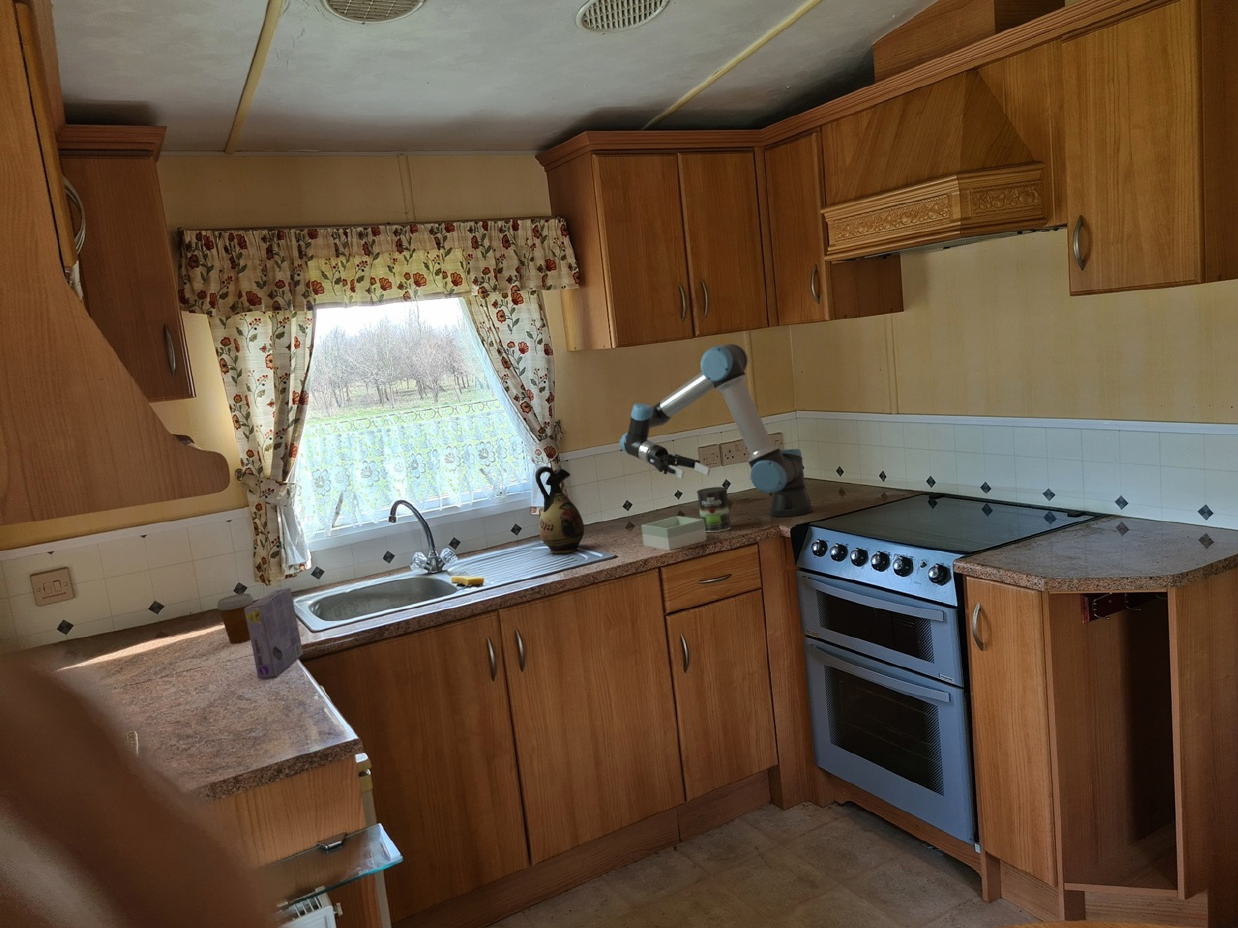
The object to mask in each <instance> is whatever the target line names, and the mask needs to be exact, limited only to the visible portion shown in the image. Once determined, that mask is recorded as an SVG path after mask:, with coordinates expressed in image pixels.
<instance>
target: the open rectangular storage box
mask: <svg viewBox="0 0 1238 928" xmlns="http://www.w3.org/2000/svg"><path fill="white" fill-rule="evenodd" d="M640 527H641V534H642V541H643V542H642V543H643V546H645V547H651V548H654V549H655V548H656V549H661V550H666V551H673V550H675V549H679V548H683V547H687V546H691V545H693V544H694V545H695V544H698V542H699V543H702V542H705V540H706V541H707V535H706V534H707V533H706V532H705V524H704V519H701V518H694V517H688V516H679V515H676V516H672V517H668V518H664V519H660V520H657V521H652V522H648V523H644V524H641V525H640Z"/></svg>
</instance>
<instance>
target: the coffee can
mask: <svg viewBox="0 0 1238 928" xmlns="http://www.w3.org/2000/svg"><path fill="white" fill-rule="evenodd" d="M696 494H697V500H698V501H697V502H698V507H699V517H700V518H699V519H704V524H705V532H716V533H718V532H717V531H723V532H727V531H729V529H730V530H731V529H732V525H731V519H730V518H731V517H730V516H731V515H730V507H729V500H728V488H727V487H724V486H718V487H716V486H714V487H707V488H701V489H698V490H697V491H696Z"/></svg>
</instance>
